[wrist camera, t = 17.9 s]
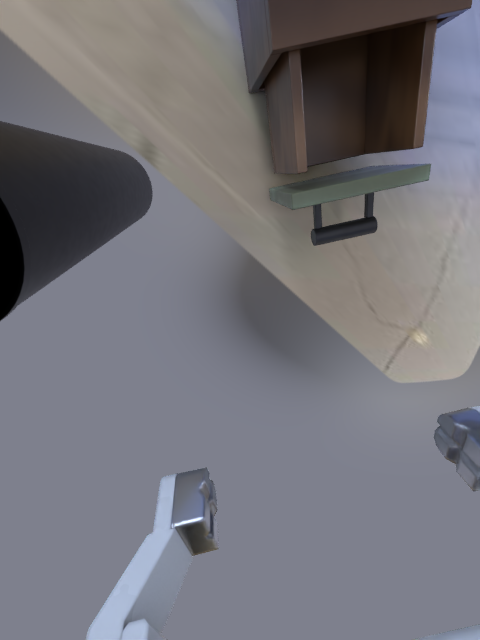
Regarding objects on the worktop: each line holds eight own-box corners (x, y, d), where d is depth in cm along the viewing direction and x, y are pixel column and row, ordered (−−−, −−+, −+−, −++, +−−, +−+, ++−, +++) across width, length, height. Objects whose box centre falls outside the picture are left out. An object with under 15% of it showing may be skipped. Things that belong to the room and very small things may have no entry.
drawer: (370, 218, 32) (422, 233, 24) (275, 239, 32) (297, 260, 24) (379, 4, 24) (463, -77, 16) (249, 32, 24) (270, -36, 16)
